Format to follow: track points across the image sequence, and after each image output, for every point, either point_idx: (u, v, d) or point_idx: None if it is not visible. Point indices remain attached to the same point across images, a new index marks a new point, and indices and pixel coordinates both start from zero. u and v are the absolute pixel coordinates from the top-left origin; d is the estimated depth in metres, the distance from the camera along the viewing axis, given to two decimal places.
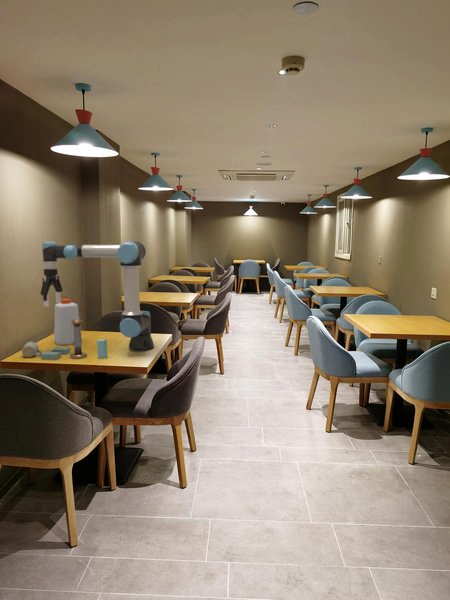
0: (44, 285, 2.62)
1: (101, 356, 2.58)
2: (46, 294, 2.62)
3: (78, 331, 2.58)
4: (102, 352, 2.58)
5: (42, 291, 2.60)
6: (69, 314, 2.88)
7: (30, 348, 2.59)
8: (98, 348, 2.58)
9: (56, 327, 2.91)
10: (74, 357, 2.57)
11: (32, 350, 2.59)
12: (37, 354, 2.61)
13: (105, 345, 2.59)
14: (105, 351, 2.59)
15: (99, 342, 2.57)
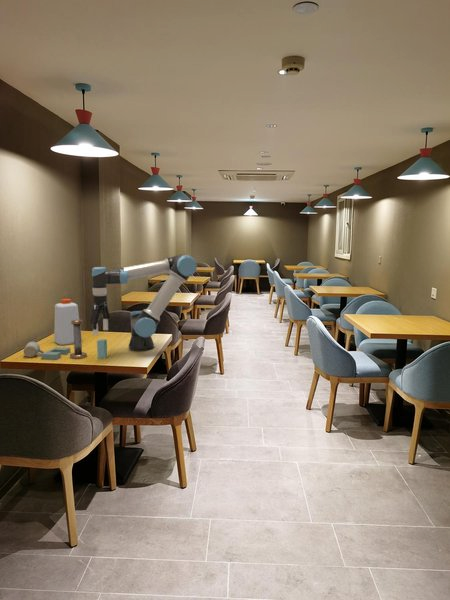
0: (94, 313, 2.49)
1: (101, 356, 2.58)
2: (96, 322, 2.49)
3: (78, 331, 2.58)
4: (102, 352, 2.58)
5: (92, 319, 2.48)
6: (69, 314, 2.88)
7: (32, 348, 2.59)
8: (98, 348, 2.58)
9: (56, 327, 2.91)
10: (74, 357, 2.57)
11: (34, 350, 2.59)
12: (39, 354, 2.61)
13: (105, 345, 2.59)
14: (105, 351, 2.59)
15: (99, 342, 2.57)
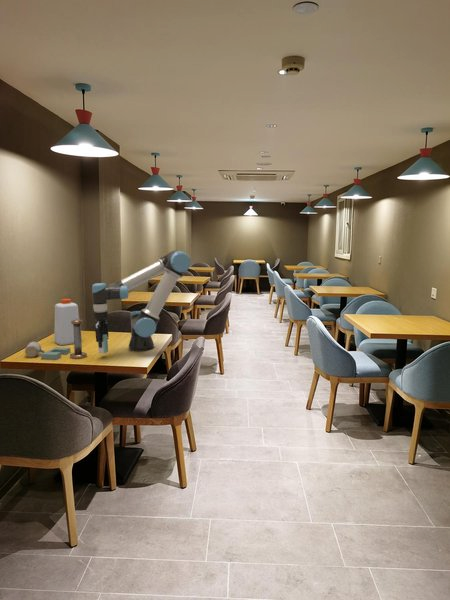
0: (97, 332, 2.53)
1: None
2: None
3: (78, 331, 2.58)
4: None
5: (97, 339, 2.53)
6: (69, 314, 2.88)
7: (33, 348, 2.59)
8: None
9: (56, 327, 2.91)
10: (74, 357, 2.57)
11: (35, 350, 2.60)
12: (40, 354, 2.62)
13: (106, 340, 2.59)
14: (106, 346, 2.59)
15: None
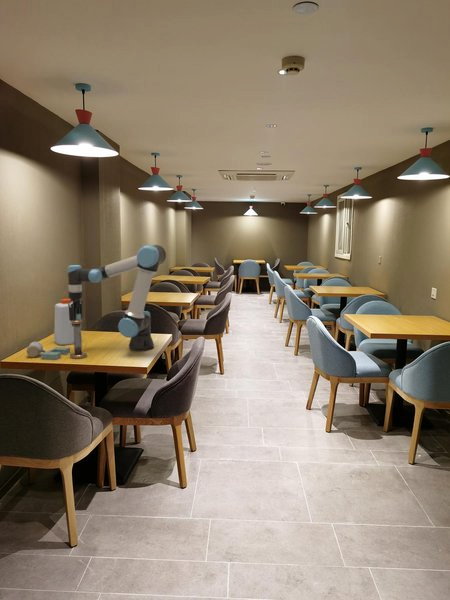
0: (71, 311, 2.66)
1: None
2: None
3: (78, 331, 2.58)
4: None
5: (70, 317, 2.67)
6: None
7: (35, 348, 2.59)
8: None
9: (56, 327, 2.91)
10: (74, 357, 2.57)
11: (37, 350, 2.60)
12: None
13: (79, 319, 2.72)
14: None
15: None
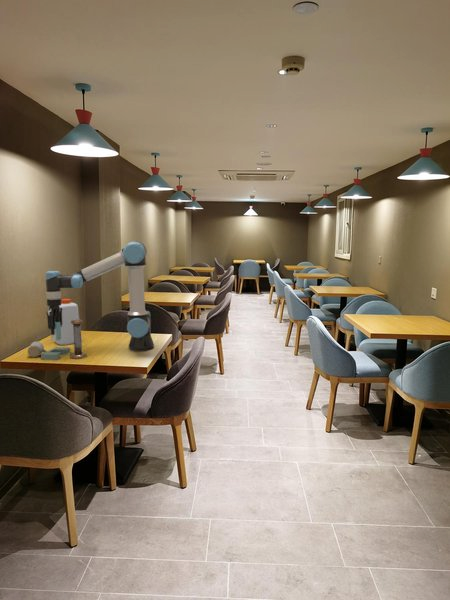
0: (49, 319, 2.55)
1: None
2: (54, 328, 2.58)
3: (78, 331, 2.58)
4: None
5: (49, 326, 2.55)
6: (69, 314, 2.88)
7: (36, 348, 2.59)
8: None
9: None
10: (74, 357, 2.57)
11: (38, 350, 2.60)
12: None
13: (58, 327, 2.61)
14: (58, 333, 2.61)
15: None
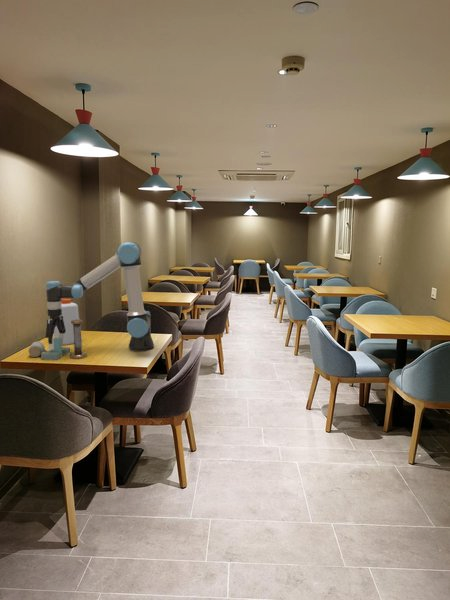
0: (48, 328, 2.54)
1: None
2: (51, 337, 2.55)
3: (78, 331, 2.58)
4: (56, 351, 2.61)
5: (47, 334, 2.53)
6: (69, 314, 2.88)
7: (37, 348, 2.59)
8: None
9: (56, 327, 2.91)
10: (74, 357, 2.57)
11: (39, 350, 2.60)
12: None
13: (59, 344, 2.62)
14: (59, 350, 2.63)
15: None
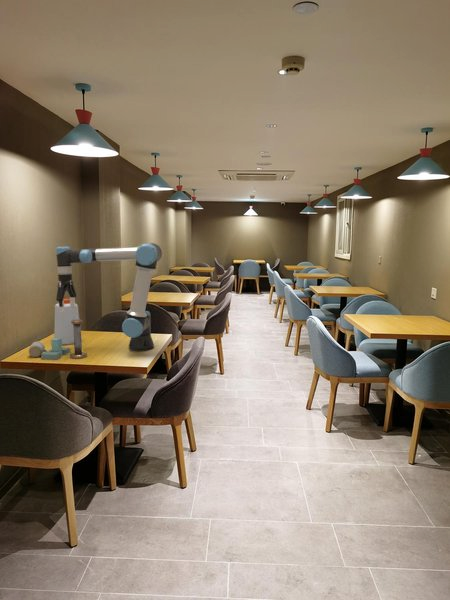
0: (60, 291, 2.57)
1: None
2: (62, 300, 2.58)
3: (78, 331, 2.58)
4: (56, 351, 2.61)
5: (58, 297, 2.56)
6: (69, 314, 2.88)
7: (37, 348, 2.59)
8: (52, 347, 2.61)
9: (56, 327, 2.91)
10: (74, 357, 2.57)
11: (39, 350, 2.60)
12: None
13: (59, 344, 2.62)
14: (59, 350, 2.63)
15: (53, 341, 2.60)
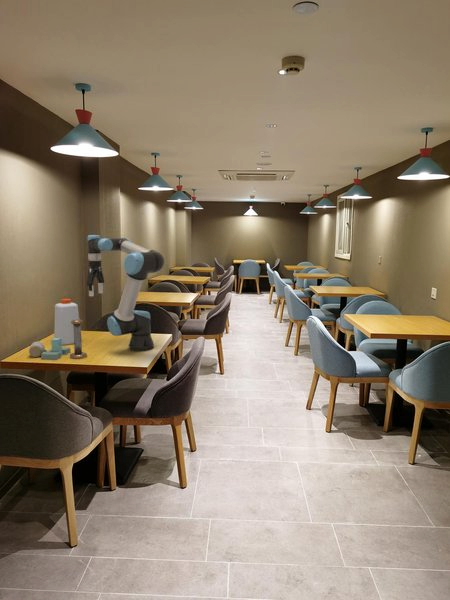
0: (90, 276, 2.76)
1: None
2: (91, 284, 2.76)
3: (78, 331, 2.58)
4: (56, 351, 2.61)
5: (88, 281, 2.75)
6: (69, 314, 2.88)
7: (37, 348, 2.59)
8: (52, 347, 2.61)
9: (56, 327, 2.91)
10: (74, 357, 2.57)
11: (39, 350, 2.60)
12: None
13: (59, 344, 2.62)
14: (59, 350, 2.63)
15: (53, 341, 2.60)
